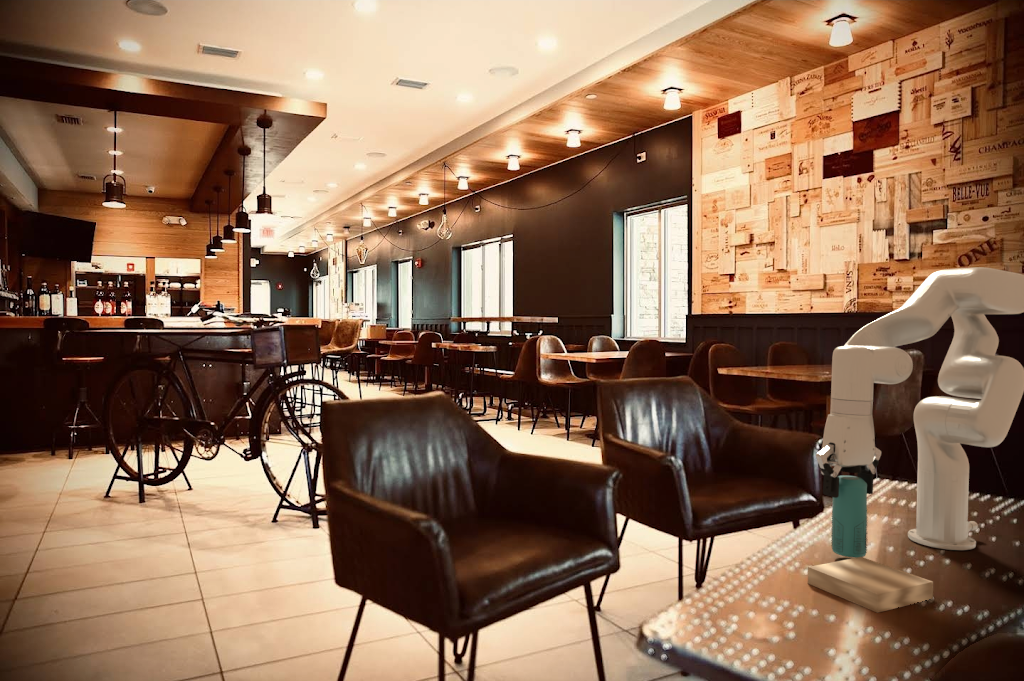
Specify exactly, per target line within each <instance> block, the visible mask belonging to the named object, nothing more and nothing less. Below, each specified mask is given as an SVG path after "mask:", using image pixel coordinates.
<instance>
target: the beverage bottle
mask: <svg viewBox="0 0 1024 681" xmlns="http://www.w3.org/2000/svg"><path fill="white" fill-rule="evenodd" d="M839 472H843V473H848V474H849V473H851V474H858V473H860V472H861V466H860V465H857V466H853V467H842V468H841V470H840V471H839ZM837 477H839V496H838V497H837V498H834V497H832V505H831V528H830V531H831V532H830V533H831V534H830V535H831V536H830V538H831V539H830V542H831V545H830V546H831V549H832V552H833V553H835V554H836V555H838V556H843V557H847V558H857V557H864V558H865V557H866V554H867V553H868V549H867V548H868V543H867V542H868V526H869V525H868V522H869V521H868V508H867V507H868V506H867V505H868V504H867V502H868V501H867V500H868V498H867V497H868V494H867V483H866V482H865V481H864V480H863V479H862V478H860V477H857V476H855V475H837Z"/></svg>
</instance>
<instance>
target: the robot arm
mask: <svg viewBox="0 0 1024 681" xmlns="http://www.w3.org/2000/svg"><path fill="white" fill-rule="evenodd" d="M1022 313H1024V274H1022V273H1018V272H1013V271H1007V270H1004V269H1003V270H1002V269H997V268H992V267H982V266H981V267H980V266H978V267H977V266H976V267H965V268H964V267H963V268H961V267H960V268H948V269H947V268H946V269H941V270H937V271H935V272H932V273H930V275H928V276H927V277H926V278H925V280H924V281H923V282H922V283H921V284H920V285H919V286H918V288H916V289H915V290H914V292H913V293H912V294H911V295H910V296H909V297H908V298H907V299H906V301H905V302H904V303H903V304H902V305H901V306H900V307H899V308H898V309H895V310H894V311H891V312H889V313H887V314H885V315H883V316H881V317H879V318H877V319H876V320H874V321H872V322H870V323H867V324H866V325H864V326H863V327H861V328H860V329H859V330H857V331H856V332H854V334H852V336H851V337H850V338H849V339H848V340H847V342H845V344H844V345H841V346H837V347H835V348H834V350H833V352H832V358H831V359H832V361H831V388H830V390H831V391H830V392H831V393H830V410H829V412H830V413H829V414H827V417H826V422H825V426H824V429H823V438H822V445H821V450H819V451H818V452H817V453H815V458H816V462H817V466H818V468H819V470H820V472H821V475H823V481H822V484H823V485H822V494H823V495H824V496H828V497H831V498H833V497H834V498H837V497H838V496H839V477H838V476H839V473H840V472H841V471H840V470H841V468H842V467H853V466H857V465H860V466H861V472H860V473H857V476H856V477H860V478H862V479H863V480H864V481H865V482H866V483H867V495H873V493H874V475H875V474H876V472H877V469H876V468H877V467H878V465H879V460H880V459H881V456H882V450H880V449H879V448H877V447H876V444H875V440H876V439H875V437H876V436H875V426H874V418H873V406H874V405H873V402H874V384H882V385H883V384H884V385H896V384H900V383H902V382H905V381H906V380H907V379H908V378H909V377H910V376H911V374H912V373H913V369H914V368H913V367H914V366H913V365H914V364H913V363H914V362H913V359H912V357H911V356H910V355H909V353H908V352H906V351H905V350H904V349H901V348H899V346H903V345H908V344H913V343H917V342H920V341H923V340H927V339H929V338H931V337H933V336H935V334H937V332H939V331H940V329H941V328H942V326H944V324H945V323H946V322H947V321H948V320H949V318H950V317H951V319H952V322H953V329H954V330H953V331H954V332H953V338H952V341H951V344H950V345H949V348H948V350H947V353H946V355H945V357H944V360H943V362H942V364H941V368H940V370H939V373H938V377H937V384H938V387H939V389H940V390H941V391H942V392H944V393H945V394H947V395H950V396H944V395H941V396H940V395H939V396H937V395H935V396H927V397H925V398H923V399H921V400H920V401H919V402H918V403H917V404H916V405H915V408H914V411H913V415H912V416H913V424H914V425H913V426H914V429H915V435H916V441H917V443H916V444H917V478H916V479H917V482H916V484H917V485H916V516H915V517H916V520H915V521H916V523H915V528H912V529H909V530H908V531H907V537H908V539H909V540H910V541H912V542H915V543H917V544H919V545H924V546H927V547H931V548H935V549H941V550H949V551H969V550H973V549H975V548H976V546H977V541H976V540H975V539H974V538H973V537H971V536H969V532H970V531H976V530H978V528H979V524H978V523H977V522H976V521H975V520H970V521H969V519H968V518H969V491H970V490H969V486H970V485H969V484H970V483H969V481H970V480H969V479H970V463H969V458H968V456H967V453H966V451H965V449H964V448H963V447H962V445H967V446H968V445H969V446H974V447H981V448H994V447H998V446H999V445H1000V444H1001V443H1002V442H1004V440H1005V438H1006V437H1007V436H1008V432H1009V430H1010V428H1011V426H1012V423H1013V420H1014V418H1015V416H1016V412H1017V411H1018V408H1019V405H1020V403H1021V400H1022V398H1023V395H1024V366H1023V365H1022V364H1021V362H1019V360H1017V359H1015V358H1014V357H1010V356H1006V355H998V354H997V355H996V353H997V349H998V347H999V342H1000V339H999V336H998V334H997V331H996V329H995V327H993V325H992V324H991V323H990V321H989V320H988V319H987V317H986V315H1020V314H1022ZM951 396H952V397H951ZM832 467H833V468H832Z"/></svg>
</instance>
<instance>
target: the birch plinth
mask: <svg viewBox="0 0 1024 681" xmlns="http://www.w3.org/2000/svg"><path fill="white" fill-rule="evenodd" d="M807 584H808V585H810V586H813V587H815V588H818V589H820V590H823V591H825V592H827V593H830V594H831V595H835V596H837V597H839V598H842V599H844V600H846V601H849V602H851V603H853V604H856V605H858V606H860V607H862V608H865V609H868V610H870V611H873V612H875V613H881V612H886V611H890V610H893V609H897V608H898V607H899V608H902V607H905V606H910V604H911V605H914V603H915V604H918V603H917V602H919V603H922V601H923V602H926V601H925V600H927V601H930V600H929V599H931V600H934V581H933V580H930V579H926V578H923V577H920V576H918V575H916V574H912V573H909V572H906V571H904V570H901V569H898V568H895V567H892V566H889V565H886V564H884V563H881V562H877V561H875V560H872V559H870V558H869V559H868V558H867V557H865V556H864V557H857V558H855V557H851V558H847V559H842V560H837V561H831V562H828V563H822V564H816V565H812V566H811V565H810V566H808V567H807Z"/></svg>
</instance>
